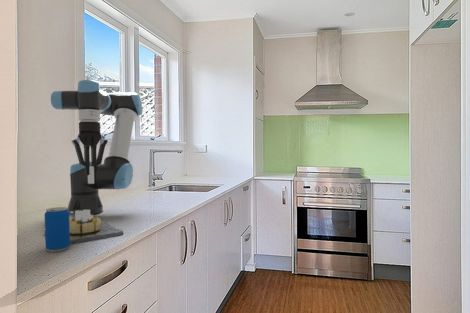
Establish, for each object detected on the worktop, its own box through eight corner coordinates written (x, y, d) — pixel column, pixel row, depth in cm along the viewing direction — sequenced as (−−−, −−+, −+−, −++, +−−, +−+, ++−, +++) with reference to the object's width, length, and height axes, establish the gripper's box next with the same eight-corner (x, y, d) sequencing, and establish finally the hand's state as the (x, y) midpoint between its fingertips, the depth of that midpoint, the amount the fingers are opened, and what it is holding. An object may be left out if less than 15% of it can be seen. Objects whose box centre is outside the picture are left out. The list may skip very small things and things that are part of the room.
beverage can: (46, 247, 105) (45, 208, 104) (70, 245, 107) (69, 206, 107) (44, 253, 99) (43, 211, 98) (69, 250, 101) (68, 209, 101)
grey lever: (105, 229, 120) (104, 217, 120) (70, 235, 113) (70, 222, 112) (84, 219, 137) (84, 209, 137) (53, 223, 130) (53, 213, 130)
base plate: (44, 233, 122) (43, 210, 121) (102, 224, 134) (102, 203, 134) (59, 246, 106) (58, 219, 106) (123, 234, 119) (122, 210, 119)
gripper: (74, 120, 126) (75, 185, 127) (110, 121, 134) (111, 182, 135) (68, 121, 132) (70, 184, 132) (103, 122, 140) (104, 181, 141)
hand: (91, 183), depth 134 cm, fingers closed
